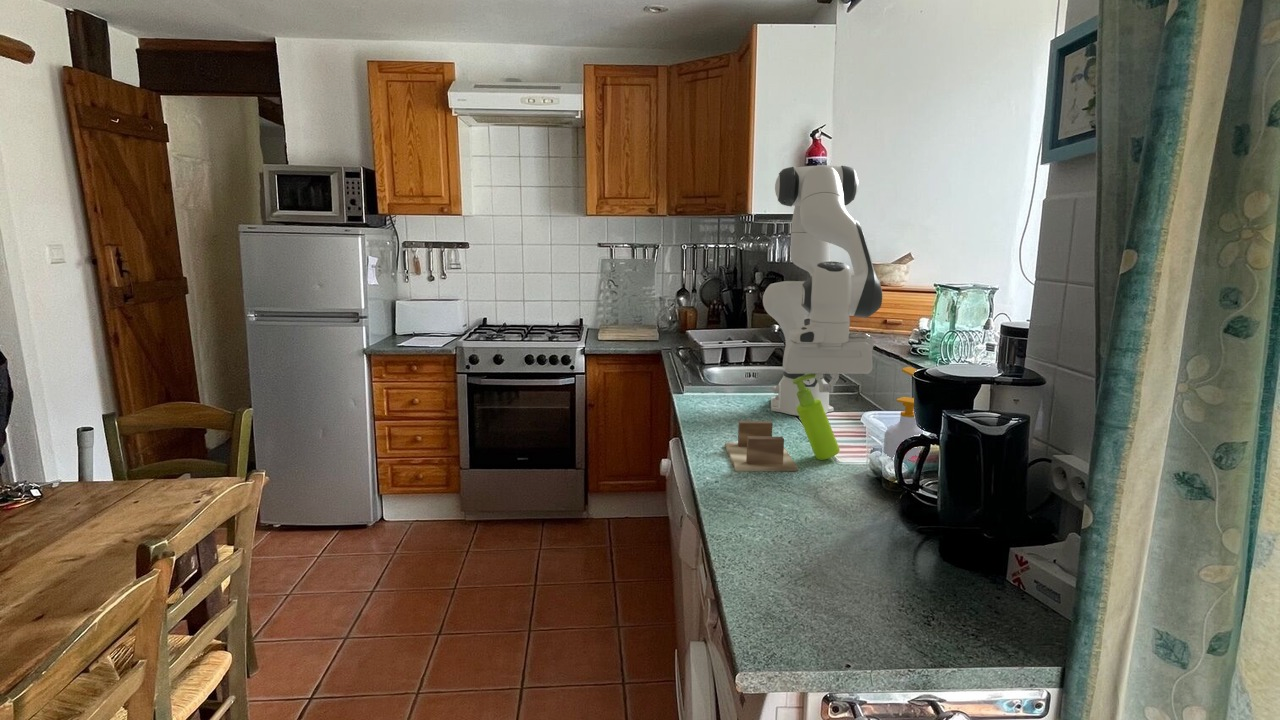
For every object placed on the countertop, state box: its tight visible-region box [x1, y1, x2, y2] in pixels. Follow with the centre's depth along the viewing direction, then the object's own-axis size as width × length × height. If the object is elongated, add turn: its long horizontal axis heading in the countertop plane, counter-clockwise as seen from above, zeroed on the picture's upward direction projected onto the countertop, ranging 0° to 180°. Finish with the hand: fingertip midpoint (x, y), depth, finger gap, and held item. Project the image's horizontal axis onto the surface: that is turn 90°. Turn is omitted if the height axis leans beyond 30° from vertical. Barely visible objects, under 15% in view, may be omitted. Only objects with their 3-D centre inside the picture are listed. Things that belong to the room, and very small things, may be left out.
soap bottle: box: [883, 366, 923, 462], centre depth 145 cm, size 9×9×25 cm
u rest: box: [724, 420, 799, 472], centre depth 160 cm, size 18×14×7 cm
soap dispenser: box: [793, 374, 840, 460], centre depth 158 cm, size 6×7×20 cm
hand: (825, 392), depth 158 cm, fingers closed
